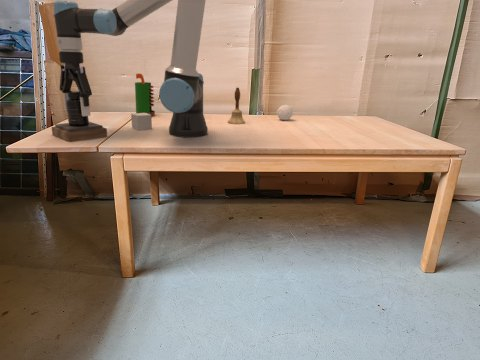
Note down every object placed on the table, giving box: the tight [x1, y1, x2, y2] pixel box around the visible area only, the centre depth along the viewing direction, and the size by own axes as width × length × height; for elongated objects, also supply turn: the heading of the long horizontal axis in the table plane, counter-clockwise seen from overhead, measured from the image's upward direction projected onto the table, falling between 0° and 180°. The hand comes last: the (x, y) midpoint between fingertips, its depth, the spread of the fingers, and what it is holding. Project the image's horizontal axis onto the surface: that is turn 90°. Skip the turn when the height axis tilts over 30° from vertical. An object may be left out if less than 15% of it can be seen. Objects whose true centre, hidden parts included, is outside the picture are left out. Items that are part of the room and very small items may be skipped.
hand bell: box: [227, 87, 246, 125], centre depth 170 cm, size 8×8×16 cm
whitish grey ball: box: [276, 104, 294, 121], centre depth 182 cm, size 8×8×8 cm
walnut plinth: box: [51, 121, 108, 143], centre depth 135 cm, size 14×14×4 cm
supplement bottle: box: [66, 90, 90, 127], centre depth 133 cm, size 7×7×12 cm
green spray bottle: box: [134, 73, 156, 118], centre depth 179 cm, size 10×9×20 cm
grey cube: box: [130, 112, 153, 131], centre depth 151 cm, size 6×6×6 cm
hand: (77, 113), depth 133 cm, fingers open, 13 cm apart
